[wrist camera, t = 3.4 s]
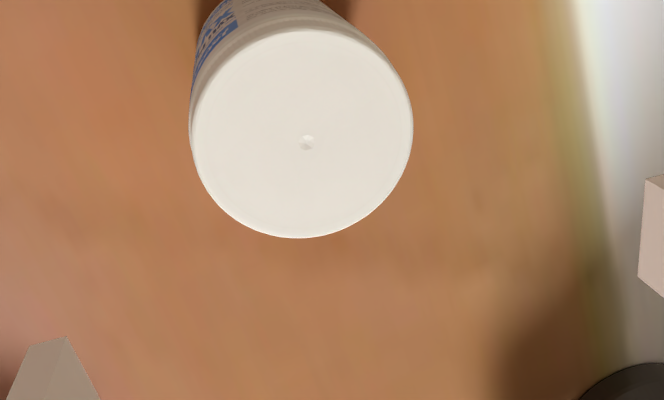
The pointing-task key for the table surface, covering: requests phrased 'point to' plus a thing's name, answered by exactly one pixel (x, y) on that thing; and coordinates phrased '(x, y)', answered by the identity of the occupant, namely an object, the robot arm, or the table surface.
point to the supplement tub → (295, 117)
